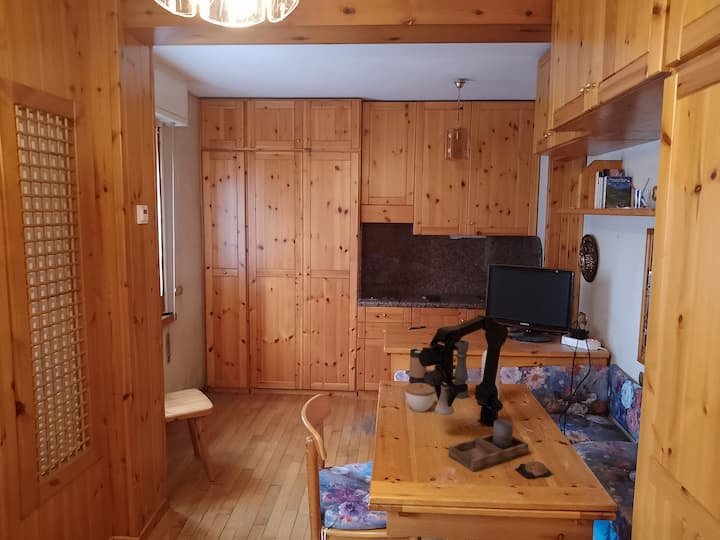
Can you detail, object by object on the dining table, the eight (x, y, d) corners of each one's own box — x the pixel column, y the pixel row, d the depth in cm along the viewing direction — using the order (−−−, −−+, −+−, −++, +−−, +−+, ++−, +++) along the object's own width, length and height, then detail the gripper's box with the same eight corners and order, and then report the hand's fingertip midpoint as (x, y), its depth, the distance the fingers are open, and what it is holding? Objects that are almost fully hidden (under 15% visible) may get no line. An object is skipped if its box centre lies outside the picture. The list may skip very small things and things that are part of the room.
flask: (454, 416, 185) (454, 389, 184) (433, 414, 186) (434, 388, 185) (454, 409, 192) (455, 383, 191) (434, 407, 193) (435, 381, 192)
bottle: (477, 401, 224) (479, 334, 221) (484, 396, 230) (486, 331, 227) (495, 405, 219) (497, 337, 216) (501, 400, 226) (504, 333, 222)
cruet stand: (501, 440, 186) (502, 413, 185) (527, 453, 176) (529, 425, 175) (448, 456, 173) (449, 427, 172) (473, 471, 163) (474, 441, 162)
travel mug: (415, 397, 228) (416, 353, 226) (405, 392, 235) (406, 349, 233) (429, 395, 232) (430, 351, 230) (419, 389, 239) (420, 347, 236)
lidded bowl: (439, 407, 217) (440, 381, 216) (427, 416, 207) (427, 390, 206) (413, 401, 224) (413, 376, 223) (399, 410, 214) (400, 384, 212)
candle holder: (451, 393, 234) (453, 340, 231) (465, 393, 234) (466, 339, 231) (455, 398, 227) (457, 343, 225) (469, 398, 228) (471, 343, 225)
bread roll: (538, 465, 169) (539, 454, 169) (556, 477, 161) (557, 466, 161) (511, 470, 166) (512, 459, 165) (528, 482, 158) (529, 471, 157)
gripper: (412, 359, 191) (411, 399, 193) (445, 373, 175) (443, 417, 177) (436, 355, 197) (435, 394, 198) (469, 368, 181) (468, 410, 182)
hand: (444, 403), depth 189 cm, fingers closed on flask, 5 cm apart
